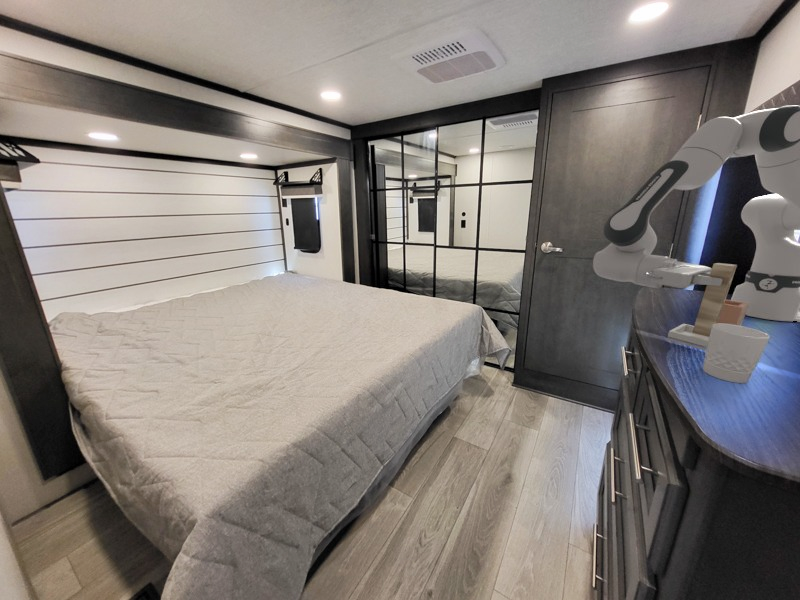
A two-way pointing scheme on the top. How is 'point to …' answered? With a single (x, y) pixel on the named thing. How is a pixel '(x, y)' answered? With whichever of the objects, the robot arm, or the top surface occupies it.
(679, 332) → the grey tray
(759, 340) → the white cup
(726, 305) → the terracotta cup
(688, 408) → the top surface
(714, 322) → the birch stick
